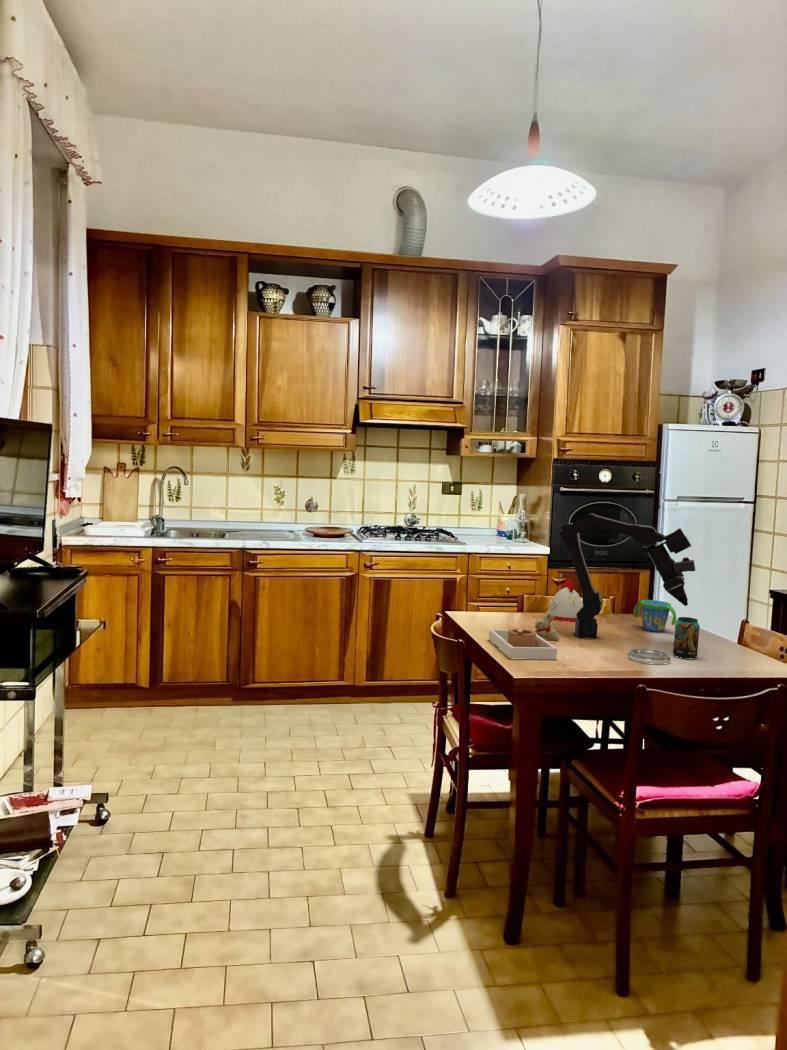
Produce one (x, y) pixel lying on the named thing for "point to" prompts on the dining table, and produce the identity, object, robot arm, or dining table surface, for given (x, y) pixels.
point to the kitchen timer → (566, 603)
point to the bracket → (521, 638)
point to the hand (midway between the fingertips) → (686, 603)
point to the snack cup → (655, 614)
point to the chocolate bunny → (546, 628)
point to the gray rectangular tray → (540, 651)
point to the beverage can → (686, 637)
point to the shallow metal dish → (649, 656)
